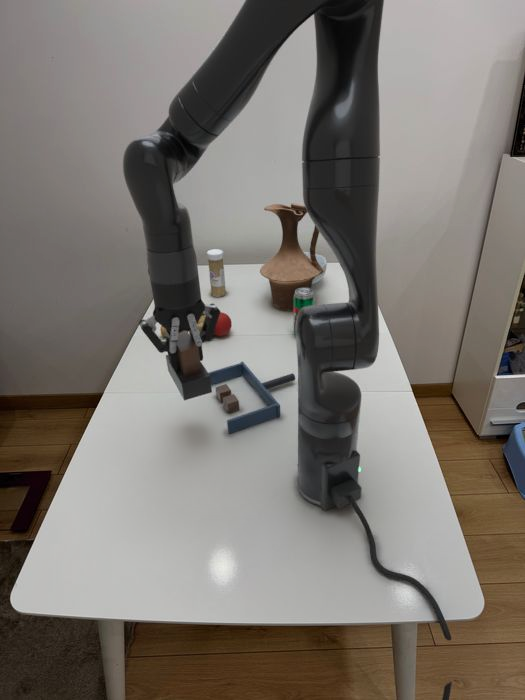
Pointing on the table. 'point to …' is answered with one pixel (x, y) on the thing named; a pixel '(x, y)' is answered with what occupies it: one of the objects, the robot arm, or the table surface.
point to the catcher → (259, 387)
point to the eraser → (189, 369)
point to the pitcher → (290, 258)
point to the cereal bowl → (322, 262)
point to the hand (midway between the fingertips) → (187, 364)
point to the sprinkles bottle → (216, 272)
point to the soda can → (301, 301)
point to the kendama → (220, 329)
